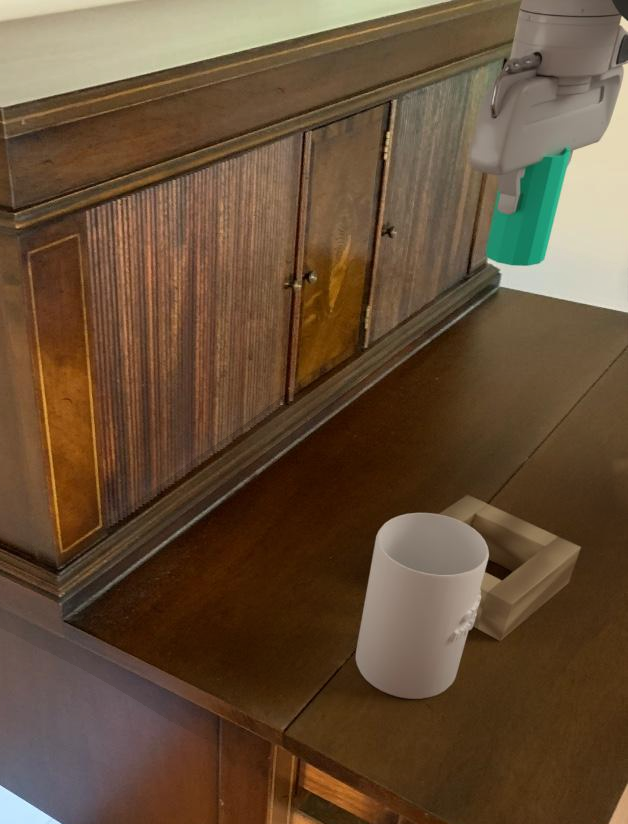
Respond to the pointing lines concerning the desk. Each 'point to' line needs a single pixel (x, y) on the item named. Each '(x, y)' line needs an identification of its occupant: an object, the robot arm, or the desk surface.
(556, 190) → the candle
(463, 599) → the mug
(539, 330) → the desk surface
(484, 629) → the frame
